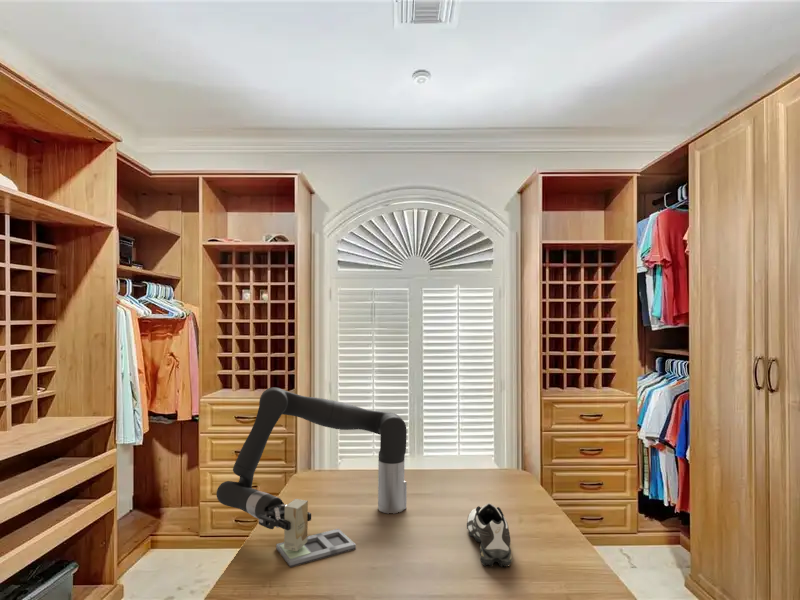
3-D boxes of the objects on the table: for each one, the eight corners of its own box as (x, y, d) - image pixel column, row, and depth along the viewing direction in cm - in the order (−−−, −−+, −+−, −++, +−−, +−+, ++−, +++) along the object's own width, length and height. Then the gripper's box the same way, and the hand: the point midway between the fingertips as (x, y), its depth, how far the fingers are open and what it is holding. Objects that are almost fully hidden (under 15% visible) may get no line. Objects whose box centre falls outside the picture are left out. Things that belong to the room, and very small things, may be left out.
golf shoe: (495, 523, 167) (495, 480, 167) (526, 571, 137) (526, 519, 137) (460, 524, 166) (461, 481, 166) (484, 572, 136) (484, 520, 136)
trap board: (338, 533, 158) (338, 527, 158) (355, 549, 148) (355, 543, 148) (276, 549, 148) (276, 543, 148) (290, 567, 138) (290, 561, 138)
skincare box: (297, 552, 141) (297, 509, 140) (283, 549, 142) (283, 506, 142) (308, 541, 147) (308, 500, 147) (295, 538, 148) (295, 497, 148)
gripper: (244, 501, 148) (280, 517, 138) (283, 487, 159) (319, 501, 149) (244, 526, 148) (279, 544, 138) (283, 511, 159) (318, 526, 149)
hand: (300, 521), depth 143 cm, fingers closed on skincare box, 7 cm apart
